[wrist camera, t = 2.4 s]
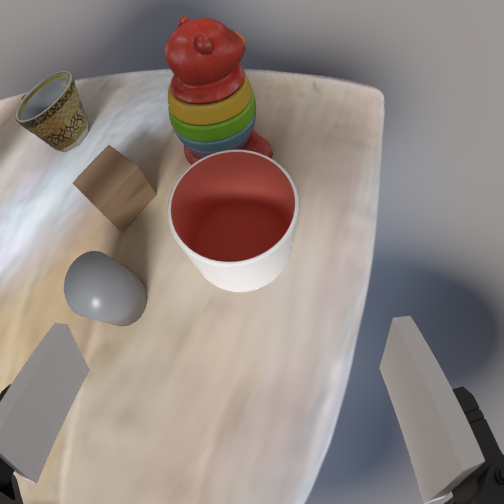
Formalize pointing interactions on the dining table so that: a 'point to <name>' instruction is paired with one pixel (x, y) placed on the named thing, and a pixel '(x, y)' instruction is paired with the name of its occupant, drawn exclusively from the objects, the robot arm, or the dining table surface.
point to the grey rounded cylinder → (104, 290)
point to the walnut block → (115, 187)
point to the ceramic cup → (54, 112)
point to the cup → (235, 218)
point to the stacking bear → (210, 90)
